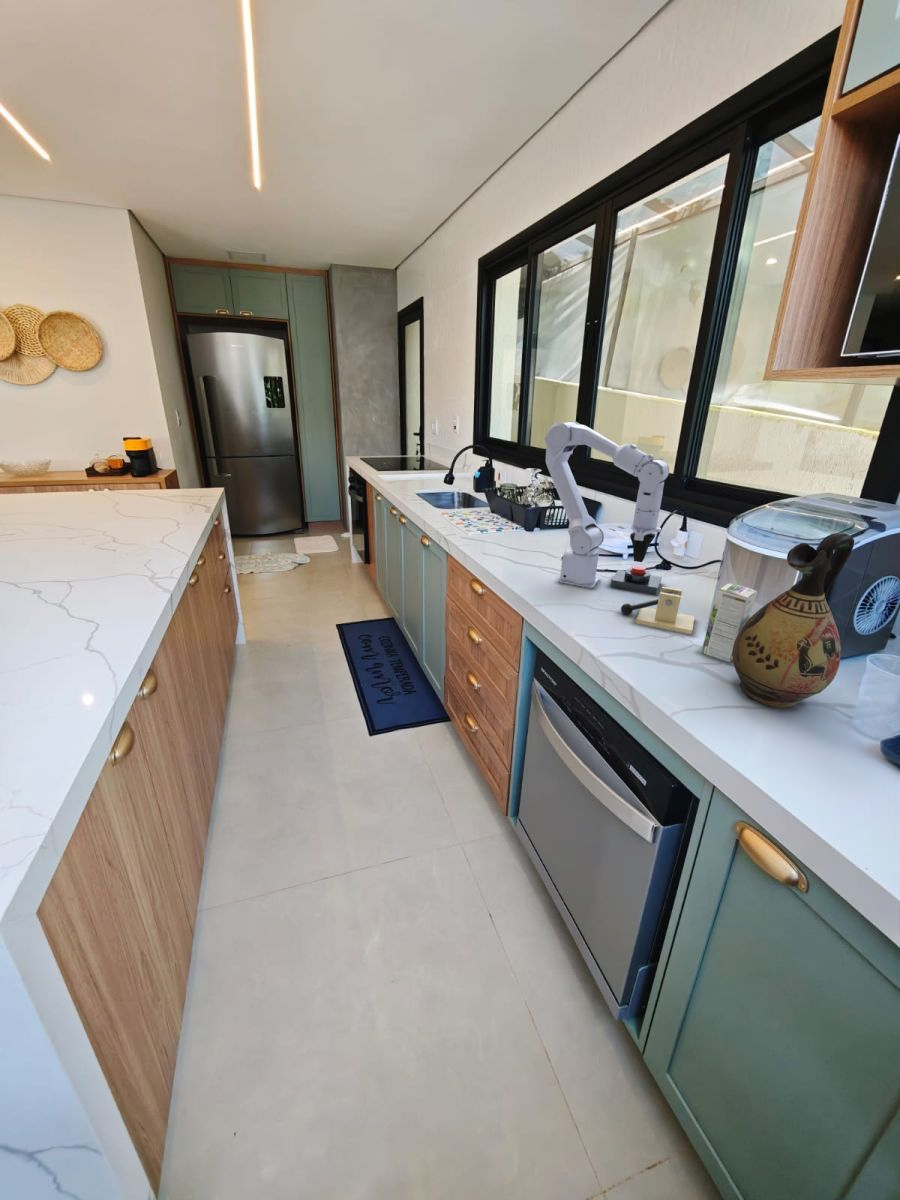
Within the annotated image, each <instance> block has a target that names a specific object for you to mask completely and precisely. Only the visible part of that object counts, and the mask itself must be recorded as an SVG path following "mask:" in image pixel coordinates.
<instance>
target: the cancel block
mask: <svg viewBox="0 0 900 1200" xmlns="http://www.w3.org/2000/svg"><path fill="white" fill-rule="evenodd" d="M631 570H632V568H626V569H625V570H622V569H617V571H616V572H615V574H614V576H613V577H612V579H611V580H610V588H614V589H620V590H626V591H631V592H636V593H642V594H648V595H652V596H653V595H654V596H657V593H658V591H659V589H660V587H661V584H662V580H663V579H662V578H663V576H660V575H653V574H651V572H650V571H648V570H647V569H646V570H645V574H644V575H637V574H633V573H631Z"/></svg>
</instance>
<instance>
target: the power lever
mask: <svg viewBox="0 0 900 1200" xmlns="http://www.w3.org/2000/svg"><path fill="white" fill-rule="evenodd" d="M669 594H674V595H676V593H675V591H673V592H669ZM658 600H659V598H657V599H652V600H648V601H644V602H640V603H636V604H631V603H624V604H622V605H621V607H620V611H621V613H622V614H623V615H625V616H630V615H631V614H632V613H633V611H637V610H641V608H645V607H649V608H650V607H653V606H657V605H658Z"/></svg>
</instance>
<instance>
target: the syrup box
mask: <svg viewBox="0 0 900 1200" xmlns="http://www.w3.org/2000/svg"><path fill="white" fill-rule="evenodd" d="M757 594H758V591H757V590H755V589H752V588H749V587H746V586H744V585H738V584H734V583H727V584H725V585H724V586H723V587H721V588H719V589H718V590H717V591H716V595H715V599H714V601H713V602H714V603H713V606H712V611H711V614H710V618H709V621H708V625H707V629H706V634H705V636H704V640H703V643H702V647H701V651H700V652H701V654H704V655H706V656H709V657H712V658H715V659H718V660H721V661H724V662H728V663H731V662H733V656H732V651H733V645H734V642H735V639H736V637H737V635H738V634H739V632H740V631H741V629H742V628H743V626H744V625H745V623H746V622H747V621H748V620H749V619H750V617H751V616H752V612H753V608H754V603H755V602H756V597H757Z"/></svg>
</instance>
